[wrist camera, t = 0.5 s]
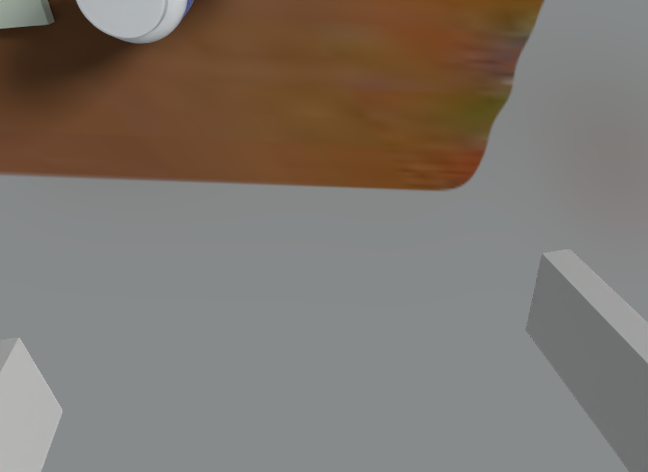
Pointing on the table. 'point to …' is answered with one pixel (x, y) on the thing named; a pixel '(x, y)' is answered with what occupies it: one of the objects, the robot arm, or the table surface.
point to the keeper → (24, 13)
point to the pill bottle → (135, 17)
